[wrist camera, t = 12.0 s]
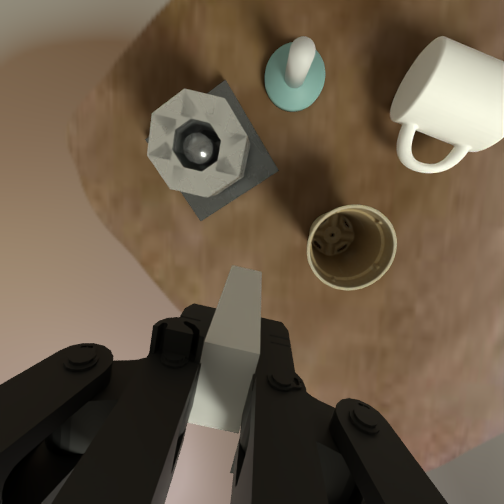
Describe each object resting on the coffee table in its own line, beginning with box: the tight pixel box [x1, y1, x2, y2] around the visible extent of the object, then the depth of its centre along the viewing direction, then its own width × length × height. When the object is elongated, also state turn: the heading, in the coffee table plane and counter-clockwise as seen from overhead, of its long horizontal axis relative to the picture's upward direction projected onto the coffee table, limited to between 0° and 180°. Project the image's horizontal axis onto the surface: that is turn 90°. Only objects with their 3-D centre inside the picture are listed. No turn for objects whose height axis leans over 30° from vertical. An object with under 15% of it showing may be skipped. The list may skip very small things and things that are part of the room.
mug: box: [390, 36, 504, 173], centre depth 30 cm, size 12×10×8 cm
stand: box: [265, 36, 325, 112], centre depth 29 cm, size 7×7×8 cm
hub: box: [145, 80, 279, 221], centre depth 31 cm, size 12×12×9 cm
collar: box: [147, 89, 250, 197], centre depth 28 cm, size 9×9×6 cm
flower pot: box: [307, 205, 397, 290], centre depth 33 cm, size 9×9×9 cm
